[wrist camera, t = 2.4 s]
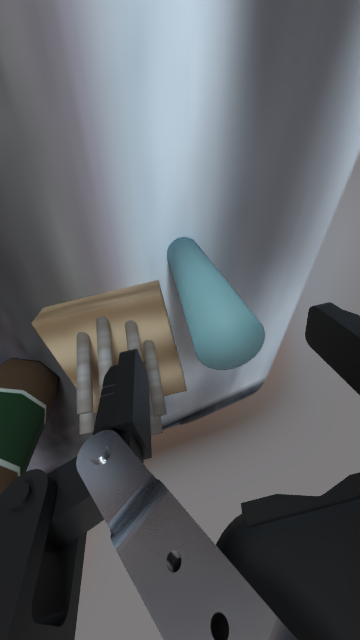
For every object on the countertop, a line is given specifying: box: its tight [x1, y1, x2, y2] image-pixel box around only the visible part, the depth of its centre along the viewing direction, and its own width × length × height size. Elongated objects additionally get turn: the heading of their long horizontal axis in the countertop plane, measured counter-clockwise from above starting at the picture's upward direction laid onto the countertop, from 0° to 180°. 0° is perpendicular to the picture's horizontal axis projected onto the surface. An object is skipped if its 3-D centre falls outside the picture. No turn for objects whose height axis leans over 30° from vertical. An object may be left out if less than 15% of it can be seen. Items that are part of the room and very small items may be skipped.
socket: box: [31, 280, 187, 435], centre depth 23 cm, size 14×12×9 cm
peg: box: [167, 237, 265, 370], centre depth 16 cm, size 3×3×14 cm
